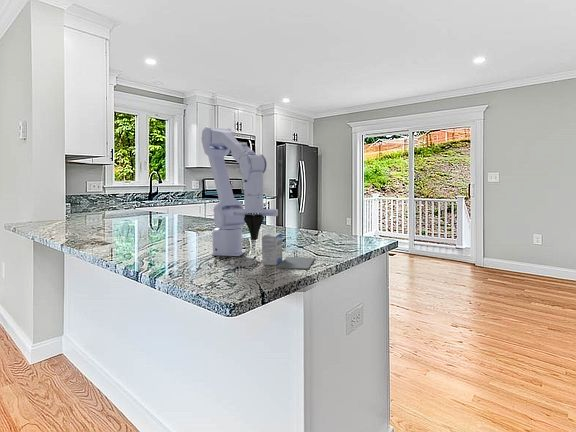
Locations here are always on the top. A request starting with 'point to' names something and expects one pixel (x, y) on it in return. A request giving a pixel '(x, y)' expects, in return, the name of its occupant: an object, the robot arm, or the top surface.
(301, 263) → the slate mat
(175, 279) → the top surface
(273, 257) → the medicine box
